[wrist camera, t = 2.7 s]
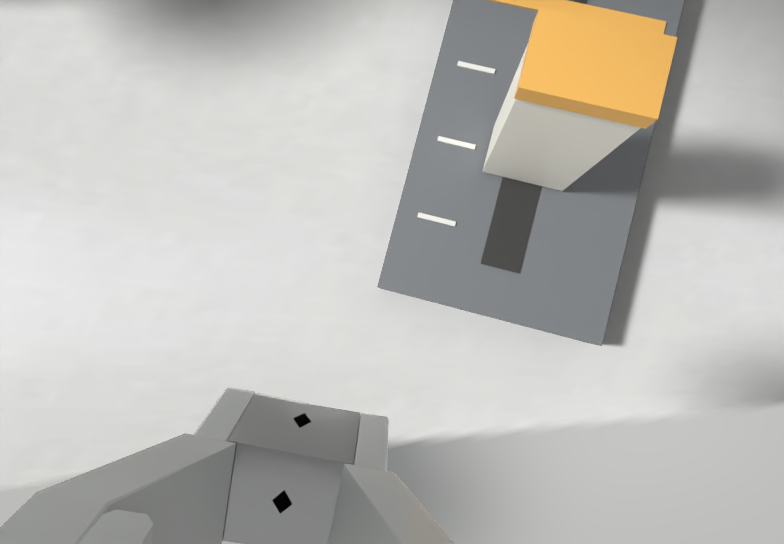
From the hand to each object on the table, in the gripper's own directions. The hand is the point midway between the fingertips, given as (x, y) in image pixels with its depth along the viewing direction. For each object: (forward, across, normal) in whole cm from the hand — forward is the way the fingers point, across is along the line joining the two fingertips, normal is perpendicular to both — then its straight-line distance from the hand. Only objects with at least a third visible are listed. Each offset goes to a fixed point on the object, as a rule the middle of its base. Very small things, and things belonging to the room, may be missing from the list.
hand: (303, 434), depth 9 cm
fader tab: (+23, +9, +6) cm, 25 cm away
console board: (+27, +9, +10) cm, 30 cm away
